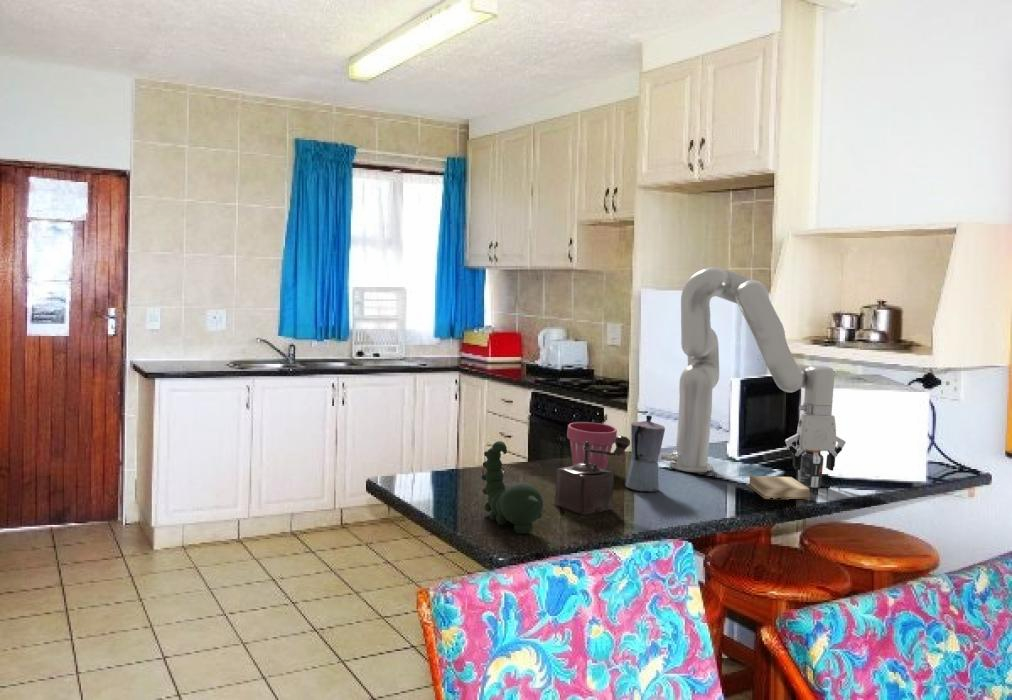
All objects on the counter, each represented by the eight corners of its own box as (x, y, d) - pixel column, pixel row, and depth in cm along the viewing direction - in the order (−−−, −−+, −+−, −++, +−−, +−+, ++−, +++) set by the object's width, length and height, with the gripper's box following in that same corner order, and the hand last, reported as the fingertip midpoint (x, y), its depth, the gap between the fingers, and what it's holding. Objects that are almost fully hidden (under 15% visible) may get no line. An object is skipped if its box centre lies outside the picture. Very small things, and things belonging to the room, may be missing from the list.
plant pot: (624, 473, 252) (627, 429, 251) (586, 478, 244) (589, 433, 243) (592, 462, 264) (595, 420, 263) (555, 466, 256) (557, 423, 255)
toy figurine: (471, 518, 209) (517, 543, 186) (472, 439, 208) (519, 454, 186) (507, 515, 213) (556, 539, 190) (508, 437, 212) (558, 452, 190)
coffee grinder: (584, 516, 209) (589, 442, 207) (553, 504, 218) (557, 433, 216) (629, 507, 219) (634, 436, 217) (597, 496, 227) (602, 428, 225)
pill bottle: (822, 489, 247) (826, 449, 245) (800, 486, 248) (804, 447, 247) (819, 483, 253) (822, 445, 251) (797, 481, 254) (801, 443, 252)
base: (764, 498, 233) (765, 487, 233) (747, 485, 246) (748, 475, 246) (810, 500, 235) (811, 489, 234) (791, 487, 247) (791, 476, 247)
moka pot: (666, 485, 242) (672, 414, 239) (651, 498, 228) (657, 423, 225) (633, 479, 246) (638, 409, 243) (616, 492, 232) (621, 418, 229)
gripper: (793, 411, 243) (789, 472, 245) (853, 412, 245) (848, 473, 247) (782, 407, 251) (778, 465, 252) (840, 408, 252) (836, 466, 254)
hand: (813, 469), depth 250 cm, fingers open, 9 cm apart
